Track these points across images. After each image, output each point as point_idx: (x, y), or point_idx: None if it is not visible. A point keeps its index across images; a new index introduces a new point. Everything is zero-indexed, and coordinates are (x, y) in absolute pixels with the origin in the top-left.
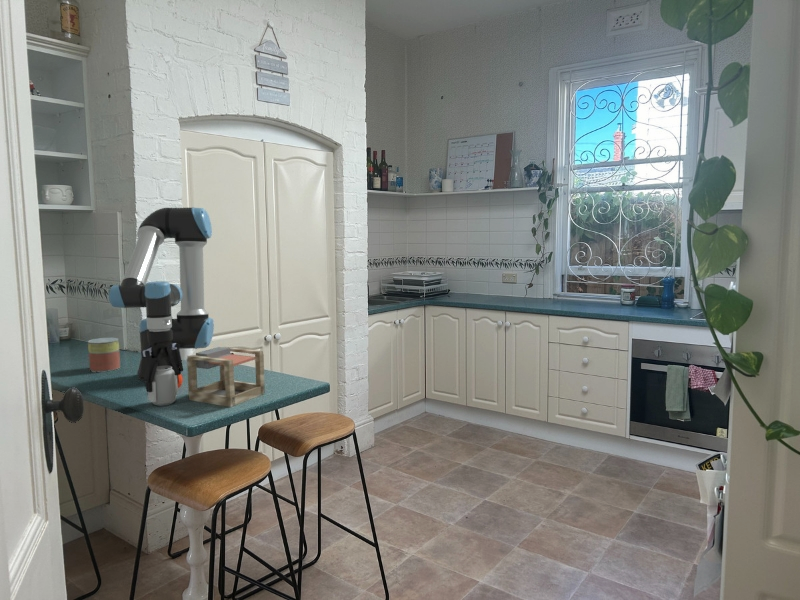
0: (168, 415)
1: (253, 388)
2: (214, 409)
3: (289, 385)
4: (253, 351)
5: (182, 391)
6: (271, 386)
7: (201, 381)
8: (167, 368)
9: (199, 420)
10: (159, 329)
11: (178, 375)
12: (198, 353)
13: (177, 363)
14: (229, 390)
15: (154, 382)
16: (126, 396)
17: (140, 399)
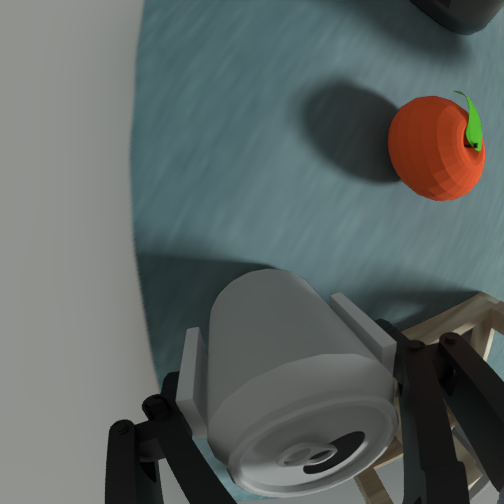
0: (193, 439)
1: None
2: None
3: (499, 375)
4: None
5: (414, 212)
6: (494, 362)
7: (493, 157)
8: (390, 396)
9: (231, 490)
10: None
11: (466, 192)
12: (486, 483)
13: (458, 402)
14: (361, 491)
15: (203, 436)
16: (210, 58)
17: (225, 163)
